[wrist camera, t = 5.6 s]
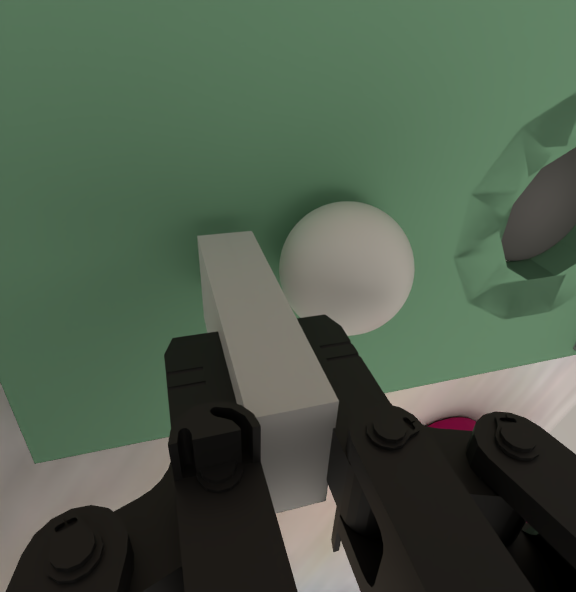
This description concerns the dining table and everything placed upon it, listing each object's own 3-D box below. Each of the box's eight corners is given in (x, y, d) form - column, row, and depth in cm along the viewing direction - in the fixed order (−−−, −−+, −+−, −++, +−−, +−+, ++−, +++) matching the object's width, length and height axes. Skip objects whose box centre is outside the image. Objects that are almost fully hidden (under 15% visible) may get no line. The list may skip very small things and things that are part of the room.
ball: (376, 382, 12) (419, 310, 15) (397, 251, 10) (442, 197, 13) (254, 335, 14) (314, 279, 17) (250, 215, 12) (319, 174, 15)
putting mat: (41, 430, 18) (23, 524, 15) (-161, -91, 9) (-309, -134, 6) (590, 328, 25) (657, 377, 22) (765, -20, 17) (918, -23, 13)
